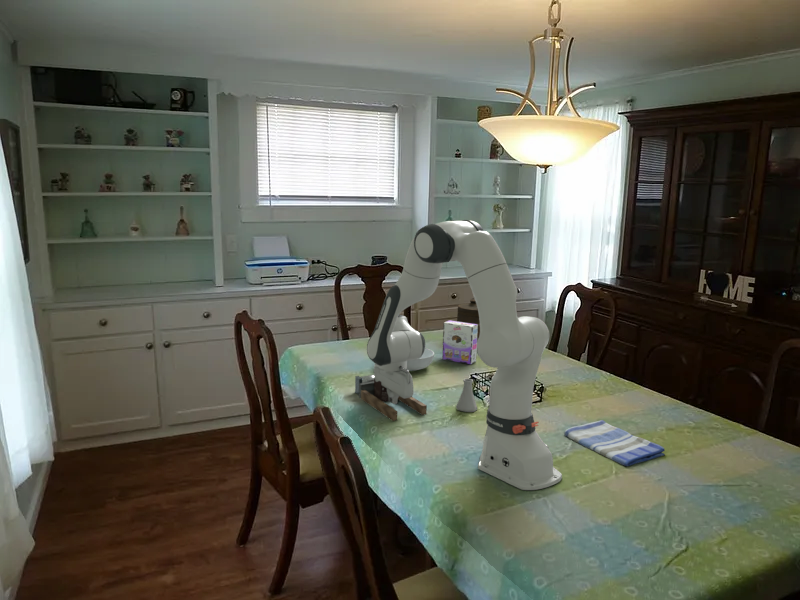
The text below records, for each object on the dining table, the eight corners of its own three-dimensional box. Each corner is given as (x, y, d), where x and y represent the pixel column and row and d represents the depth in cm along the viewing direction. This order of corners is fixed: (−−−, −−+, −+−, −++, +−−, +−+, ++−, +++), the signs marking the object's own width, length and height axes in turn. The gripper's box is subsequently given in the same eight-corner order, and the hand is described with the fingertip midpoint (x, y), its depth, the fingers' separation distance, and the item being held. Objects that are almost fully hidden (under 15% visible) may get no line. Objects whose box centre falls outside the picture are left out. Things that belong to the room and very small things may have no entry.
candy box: (476, 361, 246) (478, 324, 243) (470, 365, 241) (472, 326, 238) (447, 356, 253) (449, 319, 250) (441, 359, 249) (443, 321, 246)
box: (380, 402, 197) (380, 381, 195) (373, 396, 202) (373, 376, 201) (396, 400, 199) (396, 379, 198) (389, 394, 205) (389, 374, 203)
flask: (476, 413, 189) (478, 384, 187) (454, 411, 190) (456, 382, 188) (478, 405, 196) (479, 377, 194) (456, 403, 197) (458, 375, 195)
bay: (426, 414, 187) (426, 399, 186) (393, 421, 181) (393, 406, 180) (390, 391, 207) (390, 378, 206) (358, 397, 201) (359, 383, 200)
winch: (385, 390, 208) (385, 374, 207) (359, 395, 202) (359, 379, 201) (380, 387, 211) (380, 371, 210) (354, 392, 206) (354, 375, 205)
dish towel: (601, 425, 183) (602, 417, 182) (667, 456, 163) (668, 447, 162) (560, 436, 175) (561, 427, 174) (625, 469, 154) (626, 459, 154)
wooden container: (493, 344, 276) (495, 298, 272) (474, 349, 265) (476, 302, 261) (468, 338, 286) (470, 294, 282) (449, 343, 275) (451, 297, 271)
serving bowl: (444, 370, 233) (444, 354, 232) (401, 379, 221) (401, 361, 220) (414, 357, 250) (414, 342, 249) (372, 365, 238) (373, 348, 237)
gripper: (418, 369, 184) (417, 411, 186) (387, 354, 201) (386, 392, 203) (401, 372, 180) (400, 414, 183) (370, 356, 198) (370, 395, 200)
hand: (393, 402), depth 193 cm, fingers closed
